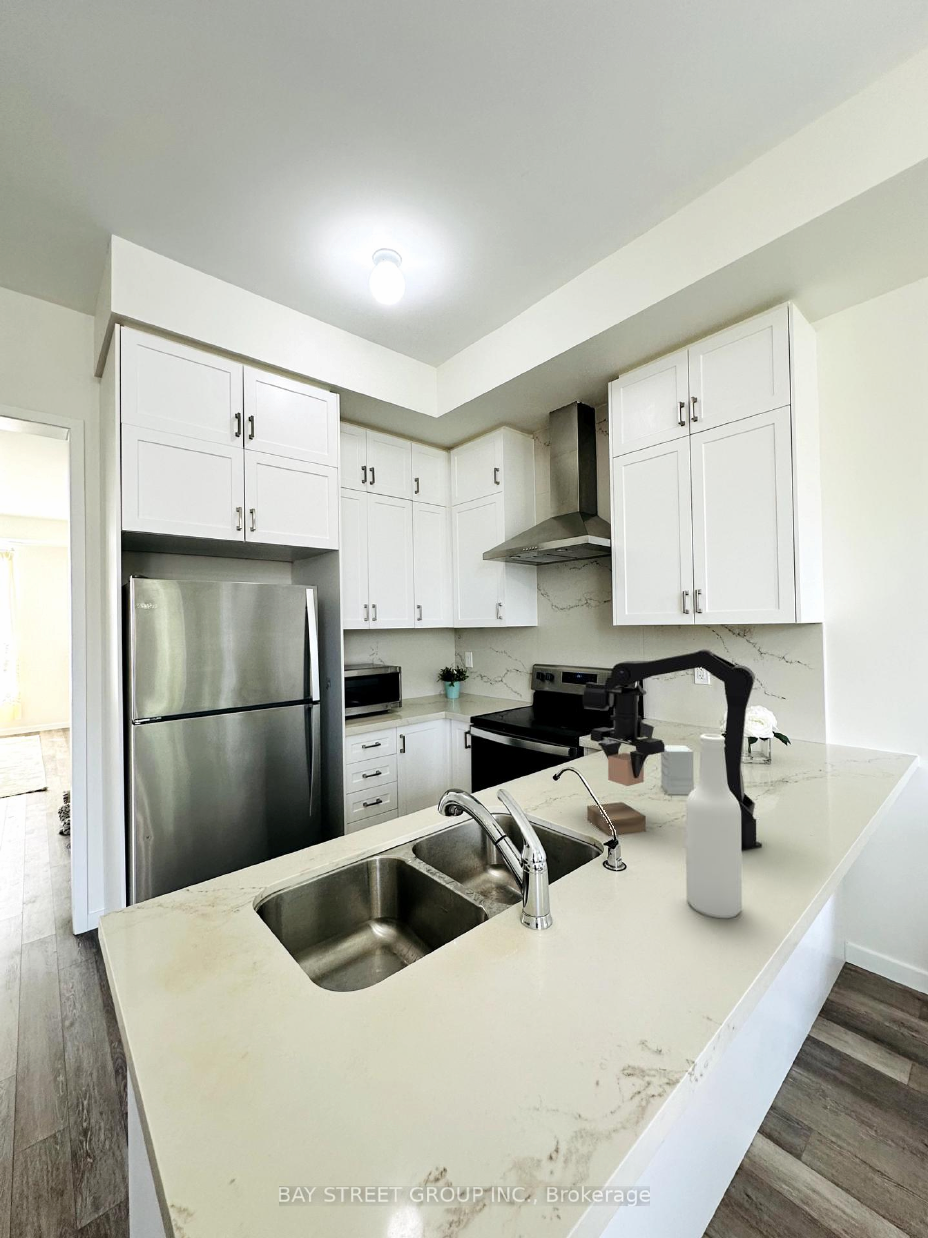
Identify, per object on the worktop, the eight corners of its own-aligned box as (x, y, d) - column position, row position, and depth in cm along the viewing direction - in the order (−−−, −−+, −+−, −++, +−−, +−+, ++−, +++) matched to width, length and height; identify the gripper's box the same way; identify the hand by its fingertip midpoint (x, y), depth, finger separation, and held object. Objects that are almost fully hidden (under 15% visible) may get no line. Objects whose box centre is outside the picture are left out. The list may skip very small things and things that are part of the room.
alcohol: (739, 926, 87) (738, 744, 87) (682, 911, 92) (681, 738, 92) (743, 901, 95) (742, 733, 95) (690, 888, 99) (689, 728, 99)
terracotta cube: (643, 782, 131) (643, 757, 131) (627, 786, 128) (627, 761, 128) (624, 775, 136) (624, 752, 136) (608, 780, 133) (608, 756, 133)
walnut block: (645, 832, 126) (645, 816, 126) (608, 837, 123) (608, 820, 123) (622, 817, 136) (622, 802, 136) (587, 822, 133) (587, 806, 133)
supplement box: (686, 787, 158) (685, 745, 158) (694, 795, 151) (694, 751, 151) (660, 786, 159) (660, 744, 159) (667, 795, 152) (667, 750, 152)
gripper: (678, 714, 129) (678, 778, 129) (617, 704, 144) (617, 761, 144) (649, 719, 122) (649, 787, 123) (588, 708, 138) (589, 767, 138)
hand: (625, 774), depth 132 cm, fingers closed on terracotta cube, 6 cm apart
